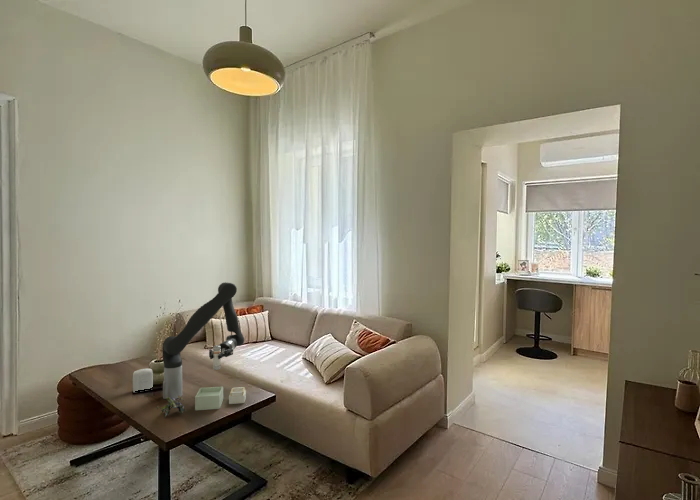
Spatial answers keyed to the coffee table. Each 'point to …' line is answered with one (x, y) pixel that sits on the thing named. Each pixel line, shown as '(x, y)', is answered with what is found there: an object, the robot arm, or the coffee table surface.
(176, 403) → the passion flower
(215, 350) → the fuse
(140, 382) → the photo printer
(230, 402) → the fuse holder
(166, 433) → the coffee table surface
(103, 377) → the coffee table surface
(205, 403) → the tray
